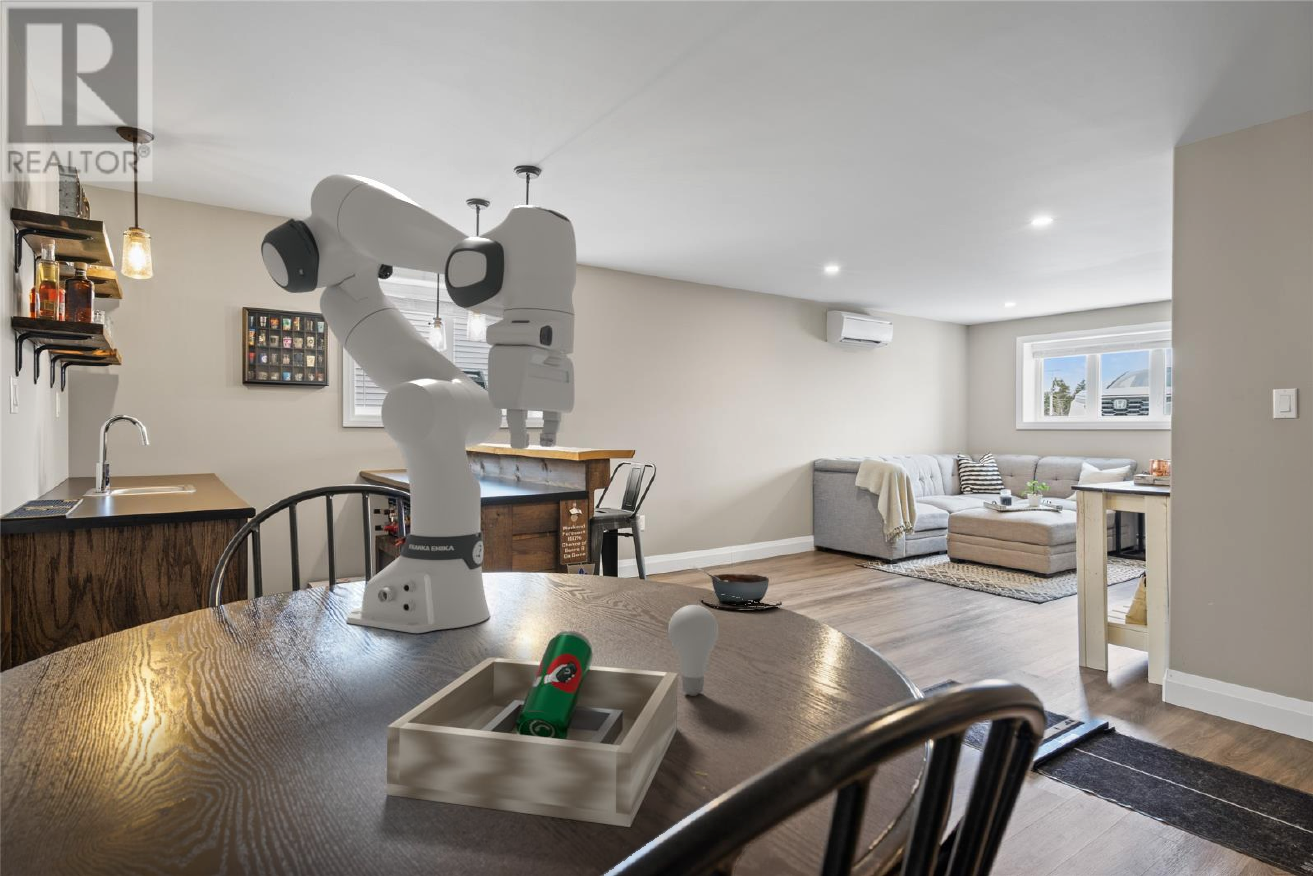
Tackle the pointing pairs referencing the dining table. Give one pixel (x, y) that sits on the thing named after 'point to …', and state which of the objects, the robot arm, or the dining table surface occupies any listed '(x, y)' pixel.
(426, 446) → the robot arm
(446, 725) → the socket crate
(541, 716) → the soda can
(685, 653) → the lightbulb
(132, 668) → the dining table surface
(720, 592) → the soup bowl
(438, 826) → the dining table surface
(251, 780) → the dining table surface
